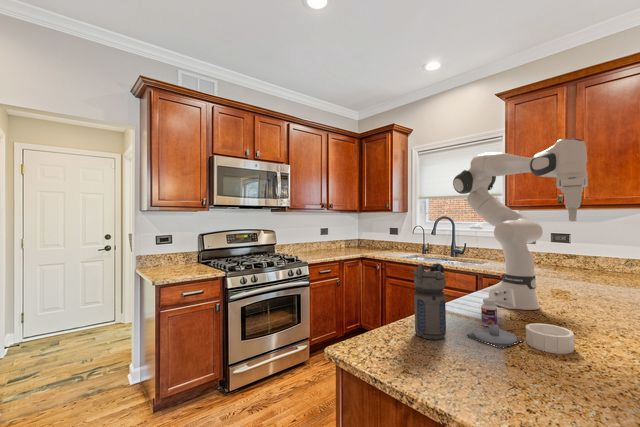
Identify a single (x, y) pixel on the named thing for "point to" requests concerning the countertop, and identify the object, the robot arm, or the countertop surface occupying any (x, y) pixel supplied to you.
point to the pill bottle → (489, 312)
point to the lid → (495, 335)
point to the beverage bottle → (430, 302)
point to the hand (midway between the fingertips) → (572, 221)
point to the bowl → (550, 338)
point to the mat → (492, 343)
